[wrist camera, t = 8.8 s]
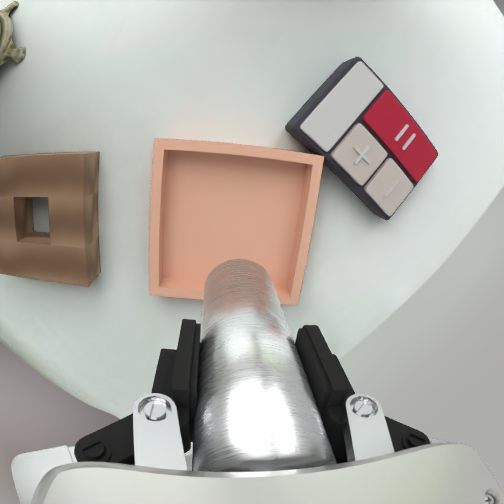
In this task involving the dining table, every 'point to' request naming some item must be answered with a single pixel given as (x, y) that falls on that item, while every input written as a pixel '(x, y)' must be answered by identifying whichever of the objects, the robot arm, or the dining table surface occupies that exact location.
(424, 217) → the dining table surface
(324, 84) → the calculator
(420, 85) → the dining table surface
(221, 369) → the pin
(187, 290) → the tray
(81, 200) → the wooden square hole block
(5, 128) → the dining table surface
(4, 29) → the samovar
